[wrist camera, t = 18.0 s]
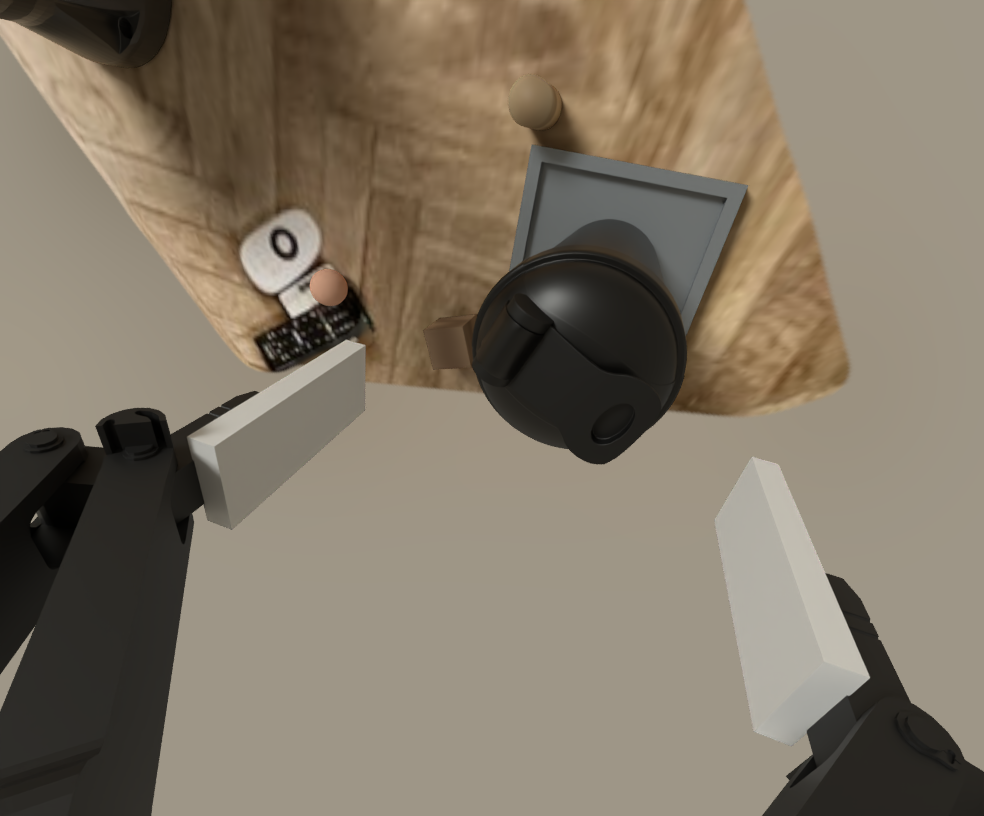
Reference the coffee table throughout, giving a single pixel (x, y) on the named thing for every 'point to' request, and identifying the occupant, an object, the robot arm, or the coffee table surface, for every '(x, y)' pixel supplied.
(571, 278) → the water bottle
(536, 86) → the cylinder
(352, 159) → the coffee table surface
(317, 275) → the rubber ball
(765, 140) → the coffee table surface
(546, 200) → the tray
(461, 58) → the coffee table surface
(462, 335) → the walnut cube
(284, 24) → the coffee table surface
